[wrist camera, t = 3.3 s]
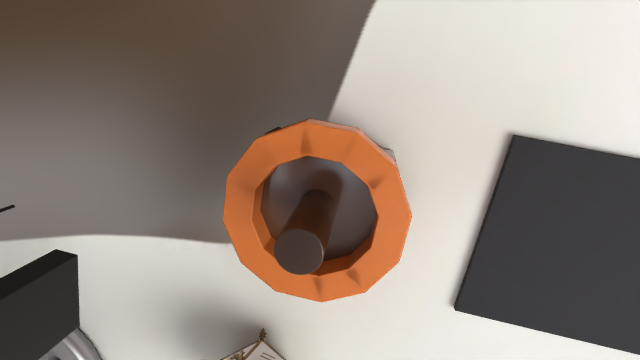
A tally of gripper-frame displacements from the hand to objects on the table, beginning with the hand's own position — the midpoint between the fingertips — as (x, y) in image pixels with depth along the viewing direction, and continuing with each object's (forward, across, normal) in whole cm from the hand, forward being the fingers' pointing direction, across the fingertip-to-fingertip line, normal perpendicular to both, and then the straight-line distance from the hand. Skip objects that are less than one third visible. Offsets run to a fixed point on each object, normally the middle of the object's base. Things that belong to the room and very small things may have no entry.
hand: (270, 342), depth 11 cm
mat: (+15, +20, 0) cm, 25 cm away
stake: (+15, 0, 0) cm, 15 cm away
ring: (+12, 0, 0) cm, 12 cm away
